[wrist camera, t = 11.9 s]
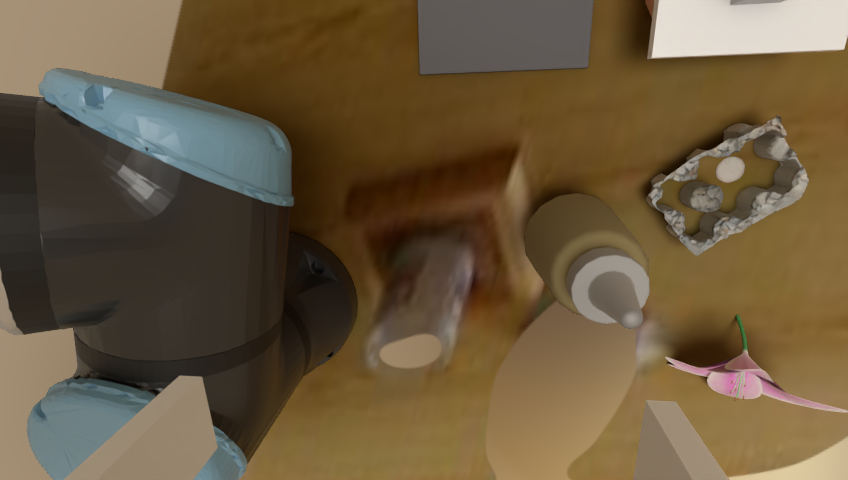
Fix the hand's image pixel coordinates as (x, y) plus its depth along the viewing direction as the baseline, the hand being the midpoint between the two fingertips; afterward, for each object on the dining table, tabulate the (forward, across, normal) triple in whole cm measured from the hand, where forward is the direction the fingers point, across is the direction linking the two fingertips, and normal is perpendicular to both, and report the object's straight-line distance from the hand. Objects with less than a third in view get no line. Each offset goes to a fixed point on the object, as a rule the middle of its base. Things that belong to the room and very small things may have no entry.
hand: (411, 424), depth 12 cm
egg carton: (+29, -22, -2) cm, 37 cm away
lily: (+29, -25, +14) cm, 41 cm away
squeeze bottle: (+29, -10, +2) cm, 31 cm away
